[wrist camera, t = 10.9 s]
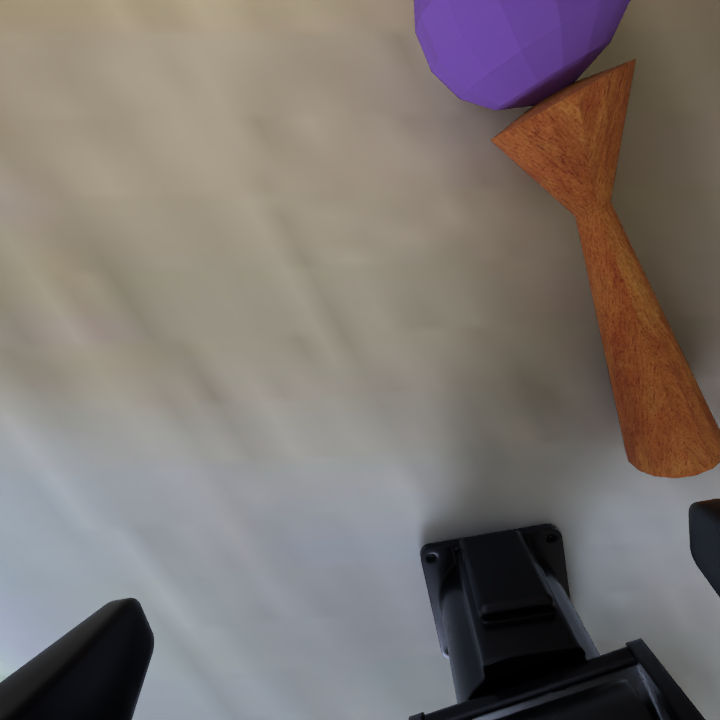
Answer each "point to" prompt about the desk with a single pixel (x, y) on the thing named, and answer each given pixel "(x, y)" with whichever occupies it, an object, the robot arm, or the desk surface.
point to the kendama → (580, 192)
